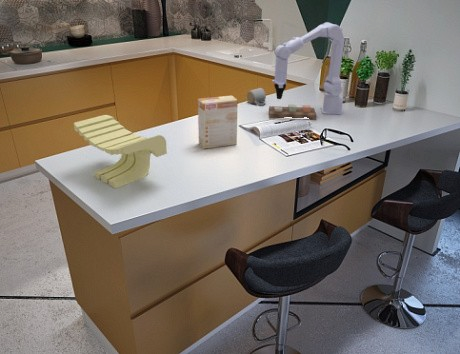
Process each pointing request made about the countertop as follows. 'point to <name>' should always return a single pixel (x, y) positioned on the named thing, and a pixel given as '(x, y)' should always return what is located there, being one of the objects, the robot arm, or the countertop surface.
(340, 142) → the countertop surface
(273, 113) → the button panel
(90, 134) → the slatted lounge chair
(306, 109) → the terracotta button
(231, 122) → the coffeecake box
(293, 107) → the sage button
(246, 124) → the countertop surface
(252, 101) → the ceramic mug
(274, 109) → the cream button
